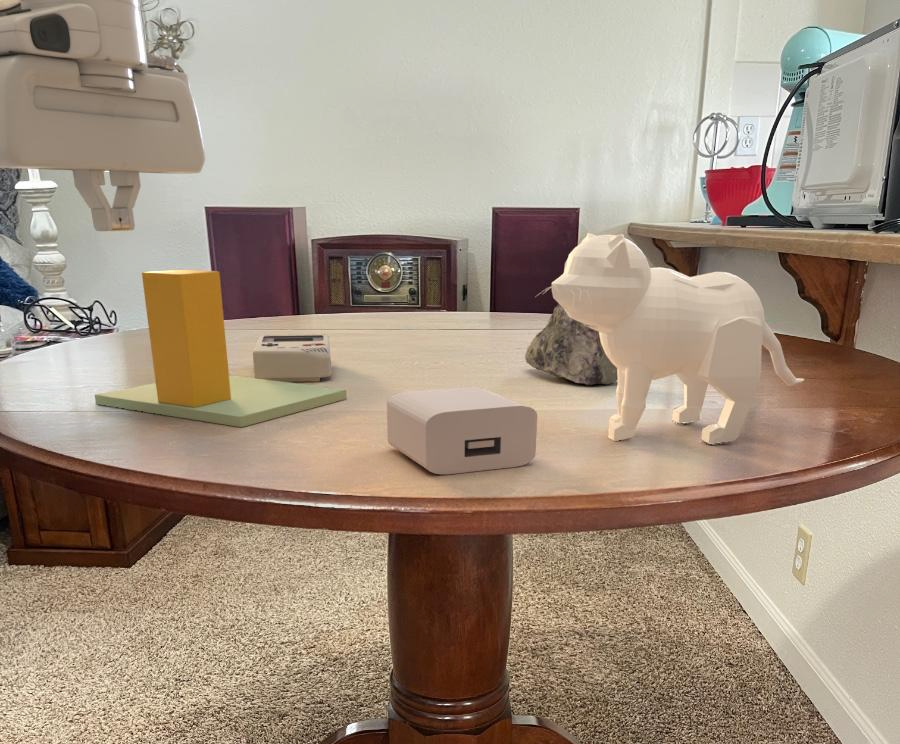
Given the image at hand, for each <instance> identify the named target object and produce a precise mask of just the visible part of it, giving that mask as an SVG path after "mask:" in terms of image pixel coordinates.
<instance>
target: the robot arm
mask: <svg viewBox="0 0 900 744" xmlns="http://www.w3.org/2000/svg"><path fill="white" fill-rule="evenodd" d="M140 1H141V0H0V169H23V170H28V169H29V170H50V171H51V170H53V171H54V170H55V171H56V170H57V171H72V176H73V183H74V187H75V188H76V190H77V191H78V193H79V194H80V196H81V197H82V199H83V201H84V203H86V205H87V207H88V209H90V212H91V219H92V225H93V228H94V230H95V231H96V232H123V231H124V232H125V231H127V232H128V231H134V230H135V227H136V225H135V217H134V211H133V209H134V208H135V205H136V202H137V199H138V195H139V194H140V190H141V187H142V185H141V179H140V174H141V173H143V174H166V175H167V174H170V175H190V174H201V172H202V170H203V169H204V168H203V167H204V165H205V162H206V152H205V146H204V145H205V144H204V140H203V132H202V129H201V123H200V118H199V114H198V110H197V106H196V103H195V99H194V96H193V93H192V91H191V90H192V89H191V82H190V78H189V75H188V74H187V73H186V72H185V71H184V69H183V68H182V67H181V66H180V65H179V63H177V61H176V59H175V58H173V57H171V56H169V55H163V54H162V55H161V54H160V55H156V54H153V53H151V52H147V49H146V41H145V32H144V25H143V18H142V10H141V2H140ZM175 70H177V71H175ZM105 172H108V174H109V180H110V185H111V186H112V187H116V190H115V193H114V198H113V203H112V207H111V205H110V203H109V200H108V199H107V197H106V195H105V193H104V191H103V189H102V187H101V186H105V185H106V179H105Z"/></svg>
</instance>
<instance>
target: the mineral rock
mask: <svg viewBox="0 0 900 744" xmlns="http://www.w3.org/2000/svg"><path fill="white" fill-rule="evenodd" d="M524 359H525V362H526V364H528V365H530V366H531V367H532V368H534V369H535V370H537V371H542V372H545V373H548V374H550V375H551V376H554V377H557V378H560V377H562V378H565V379H566V380H569V381H571V382H573V383H575V384H580V385H586V386H590V385H607V384H608V385H611V384H613V383H615V382H616V381H618V375H617V367H616V366H615V365H613V364H612V363H611V361H610V360H609V358H608V357H607V355H606V354H605V352H604V349H603V347H602V344H601V341H600V336H599V332H598V331H596V330H594V329H591V328H589V327H587V326H584V325H583V323H581V322H578V321H576V320H574V319H572V318H570V317H569V316H568V314H567V313H566V311H565V310H564V308H563V307H562V306H561V305H560V304H559V303H558V304H557V305H556V306H555V307H554V309H553V313H552V314H551V315H550V317H549V319H548V321H547V324H546V325H545V327H544V328H543V329H542V330H540V331H539V332H537V333H536V335H535V336H534V337H533V339H532V341H531V342H530V344H529V345H528V347H526V351H525V354H524Z"/></svg>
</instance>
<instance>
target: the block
mask: <svg viewBox="0 0 900 744" xmlns="http://www.w3.org/2000/svg"><path fill="white" fill-rule="evenodd" d="M141 278H142V286H143V287H142V288H143V294H144V301H145V310H146V317H147V327H148V334H149V342H150V349H151V357H152V364H153V365H152V366H153V372H154V381H155V383H156V389H157V397H158V402H160V403H167V404H174V405H181V406H187V407H194V408H195V407H199V406H204V405H208V404H212V403H217V402H221V401H225V400H229V399H231V392H230V381H229V375H230V372H229V371H230V370H229V362H228V351H227V340H226V339H227V338H226V331H225V329H226V328H225V320H224V319H225V318H224V308H223V297H222V287H221V286H222V285H221V276H220V271H218V270H217V271H216V270H198V269H196V270H195V269H171V270H170V269H168V270H157V271H155V270H154V271H141Z"/></svg>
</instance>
